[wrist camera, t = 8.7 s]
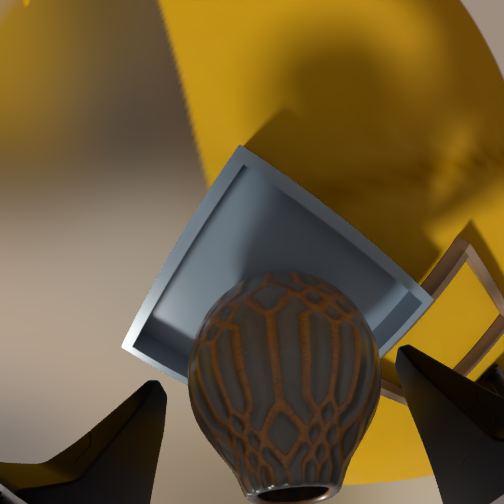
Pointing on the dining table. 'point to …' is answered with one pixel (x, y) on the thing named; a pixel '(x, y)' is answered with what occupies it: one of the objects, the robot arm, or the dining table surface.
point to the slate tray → (265, 262)
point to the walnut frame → (434, 288)
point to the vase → (285, 385)
